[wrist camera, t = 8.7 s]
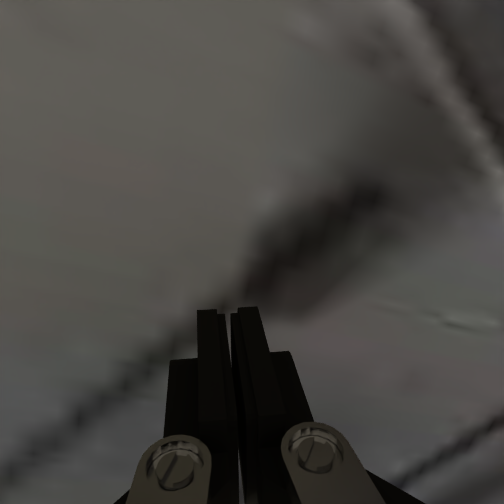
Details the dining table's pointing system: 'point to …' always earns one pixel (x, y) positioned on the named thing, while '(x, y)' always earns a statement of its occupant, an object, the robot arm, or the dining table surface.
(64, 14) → the dining table surface
